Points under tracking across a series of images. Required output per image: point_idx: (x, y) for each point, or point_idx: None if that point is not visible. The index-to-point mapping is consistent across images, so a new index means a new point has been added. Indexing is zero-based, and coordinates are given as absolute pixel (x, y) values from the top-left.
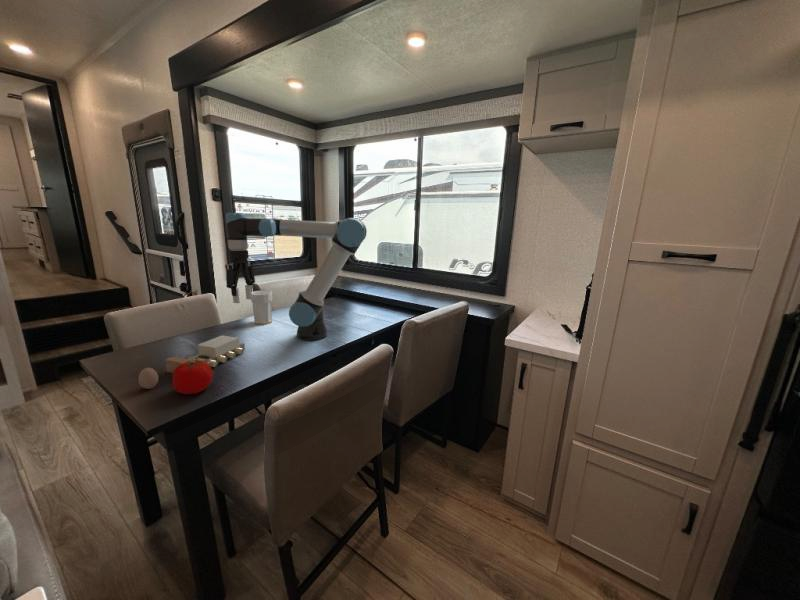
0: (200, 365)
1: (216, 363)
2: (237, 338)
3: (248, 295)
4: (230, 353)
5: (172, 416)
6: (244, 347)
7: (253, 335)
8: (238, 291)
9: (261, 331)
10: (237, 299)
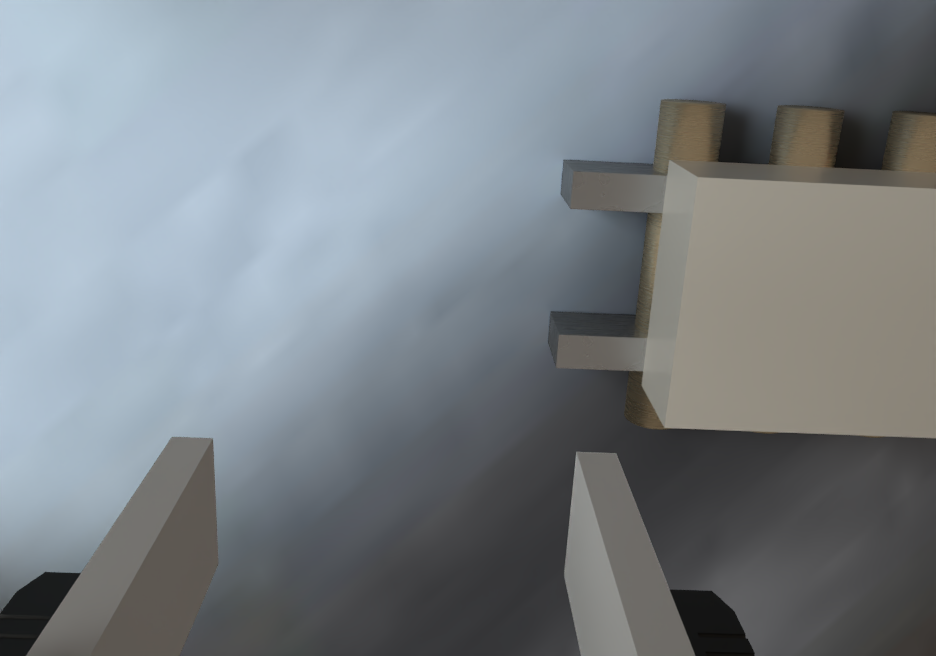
0: None
1: None
2: (714, 177)
3: (187, 553)
4: (836, 129)
5: None
6: (570, 164)
7: (164, 371)
8: (632, 629)
9: (16, 376)
10: (633, 512)
